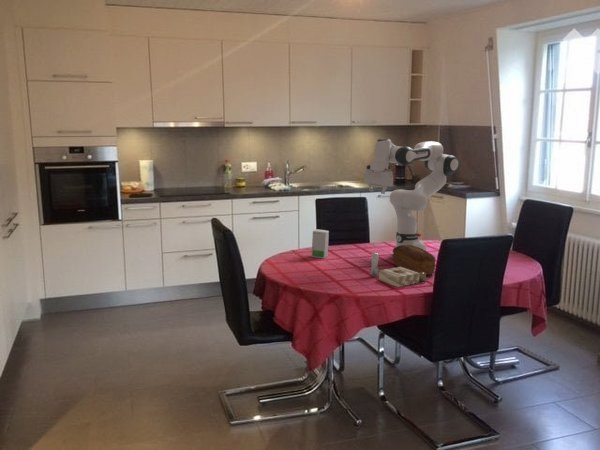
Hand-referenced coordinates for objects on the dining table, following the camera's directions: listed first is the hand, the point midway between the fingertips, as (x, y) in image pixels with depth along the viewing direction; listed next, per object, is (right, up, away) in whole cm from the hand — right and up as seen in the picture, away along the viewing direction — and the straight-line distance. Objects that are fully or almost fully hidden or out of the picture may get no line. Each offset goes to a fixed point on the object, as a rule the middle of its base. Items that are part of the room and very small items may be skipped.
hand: (376, 192), depth 321 cm
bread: (+18, -43, -9) cm, 47 cm away
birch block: (+7, -46, -32) cm, 57 cm away
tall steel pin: (-4, -44, -22) cm, 50 cm away
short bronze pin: (+18, -46, -31) cm, 59 cm away
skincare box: (-31, -37, +17) cm, 51 cm away
